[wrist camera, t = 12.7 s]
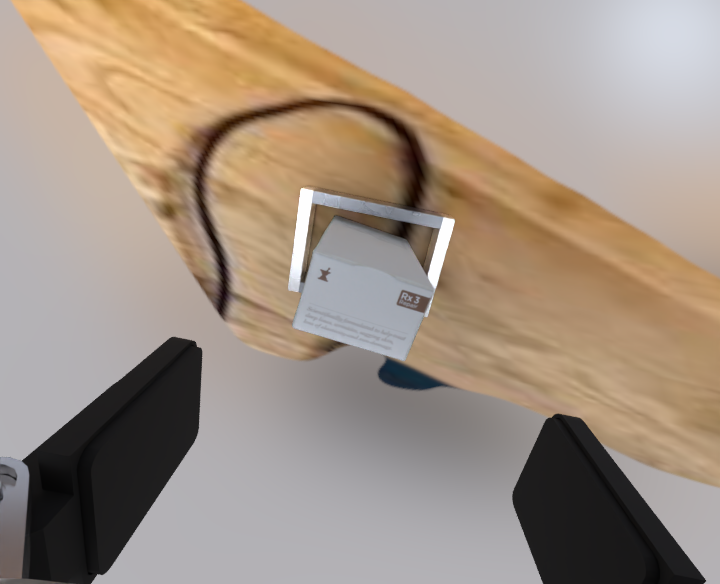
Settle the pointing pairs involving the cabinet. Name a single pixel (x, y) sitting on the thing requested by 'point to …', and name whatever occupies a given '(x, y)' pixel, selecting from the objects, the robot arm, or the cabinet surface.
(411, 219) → the socket collar
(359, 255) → the skincare box
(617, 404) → the cabinet surface
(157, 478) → the robot arm
